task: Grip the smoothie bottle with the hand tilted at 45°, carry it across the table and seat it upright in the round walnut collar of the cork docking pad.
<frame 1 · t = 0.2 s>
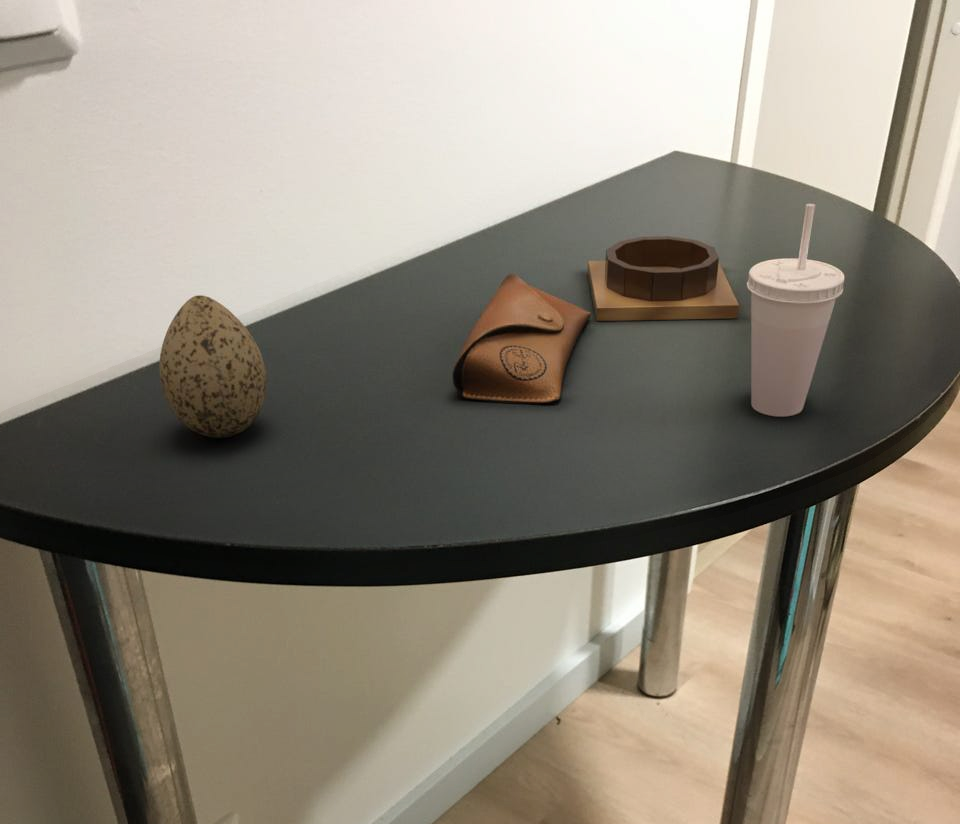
dock pad: (658, 294, 99), on the table
sunglasses case: (526, 357, 89), on the table
smoothie: (776, 407, 81), on the table
decorative egg: (224, 435, 79), on the table
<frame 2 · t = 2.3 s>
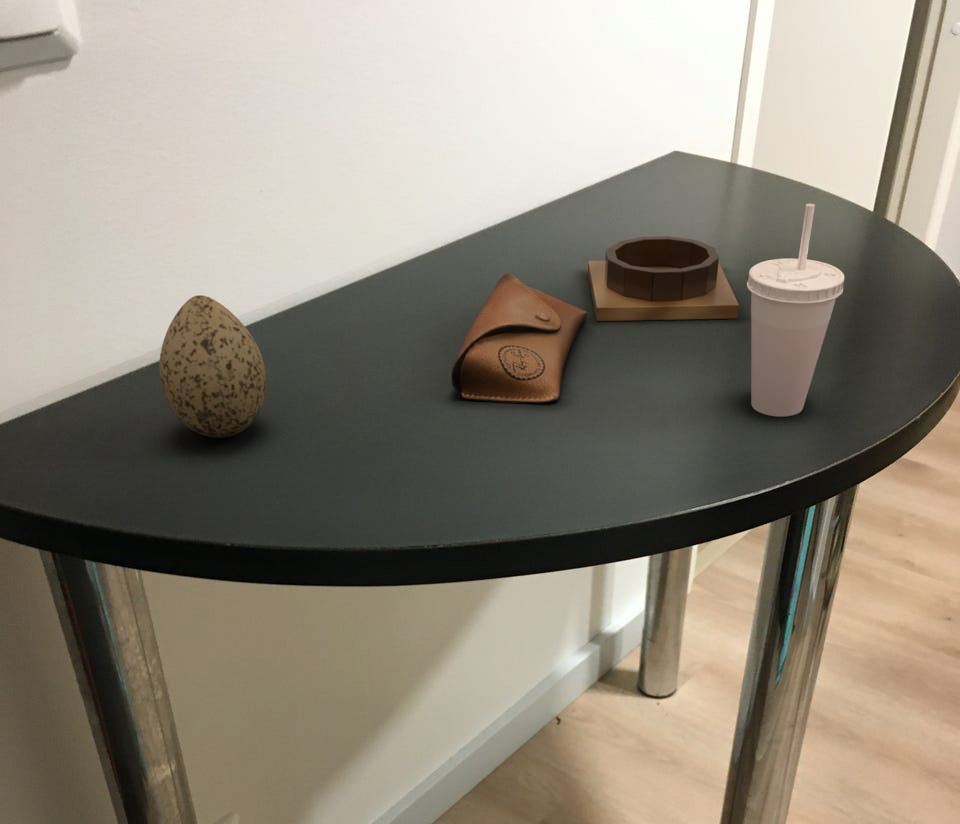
nothing on the table moved.
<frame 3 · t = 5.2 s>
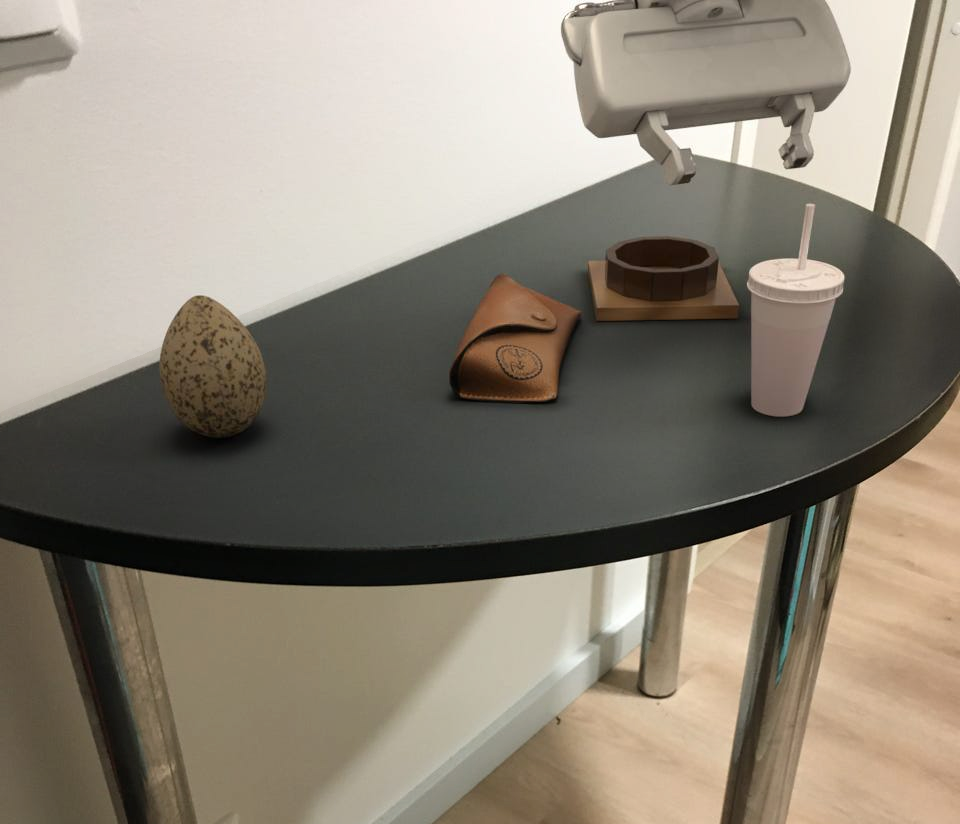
hand: (742, 171, 78), 14 cm above the table, tool tilted 45°, fingers open, 8 cm apart
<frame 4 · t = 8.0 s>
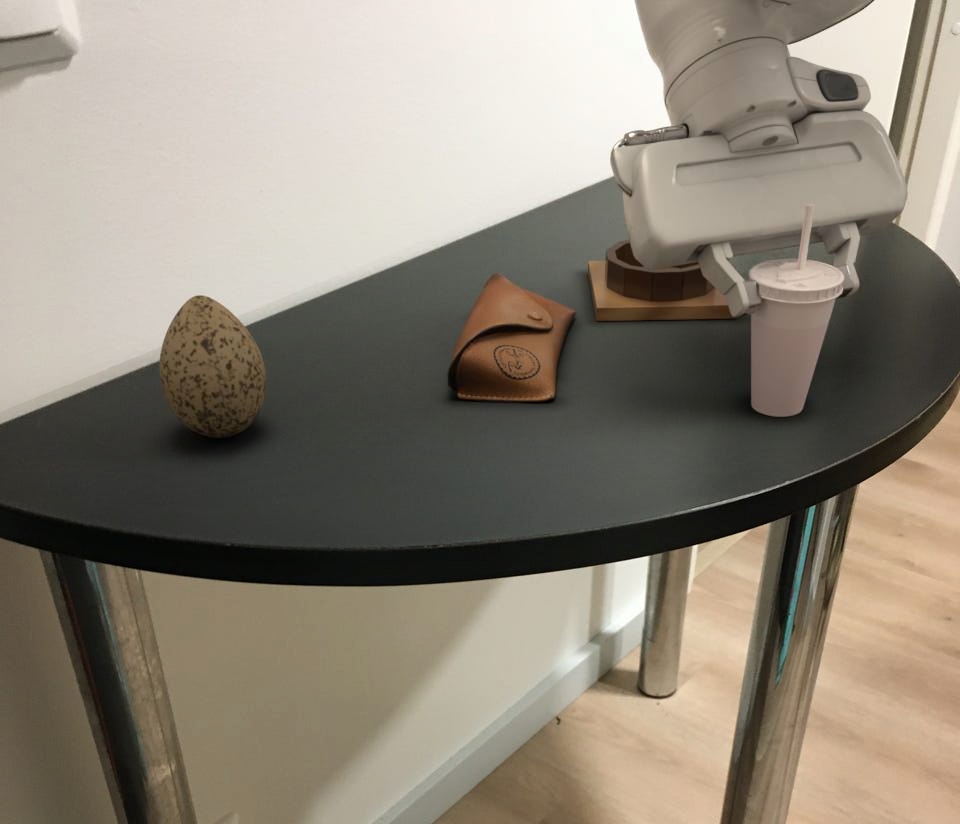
hand: (797, 303, 75), 8 cm above the table, tool tilted 45°, fingers closed on smoothie, 6 cm apart
smoothie: (776, 407, 81), on the table, touching gripper
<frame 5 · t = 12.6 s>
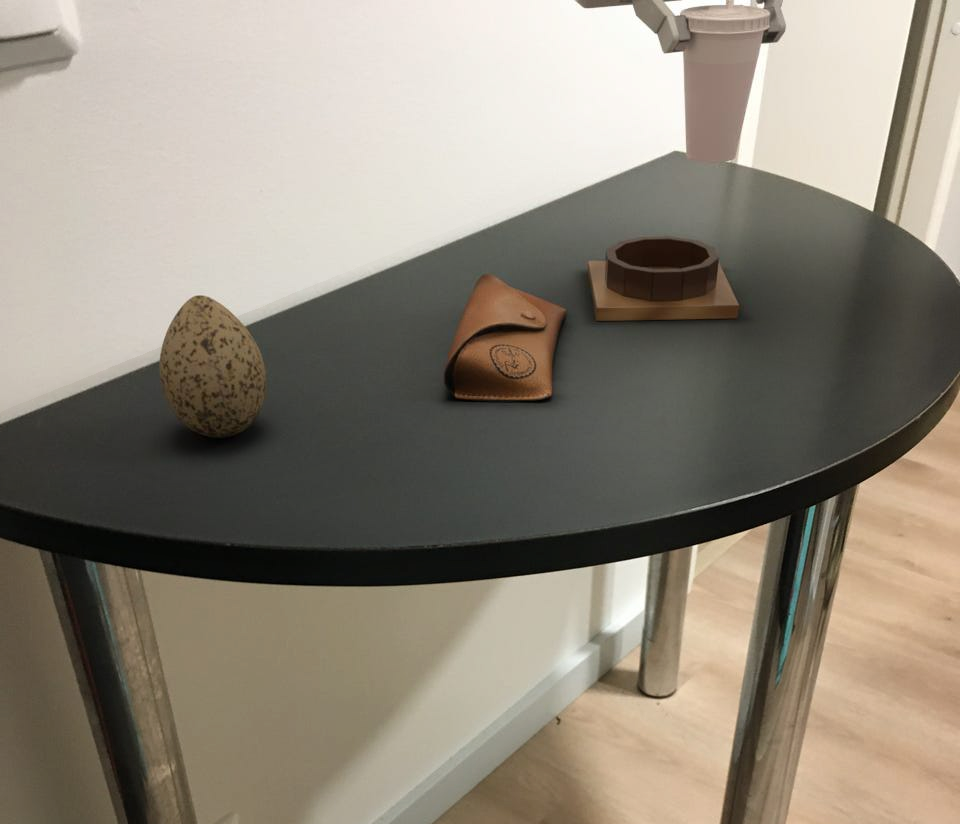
hand: (726, 42, 79), 21 cm above the table, tool tilted 45°, fingers closed on smoothie, 6 cm apart
smoothie: (710, 159, 84), point 13 cm above the table, touching gripper
when the fingers open (9 cm above the table, at t = 17.6 s): smoothie stays where it is, resting on dock pad.
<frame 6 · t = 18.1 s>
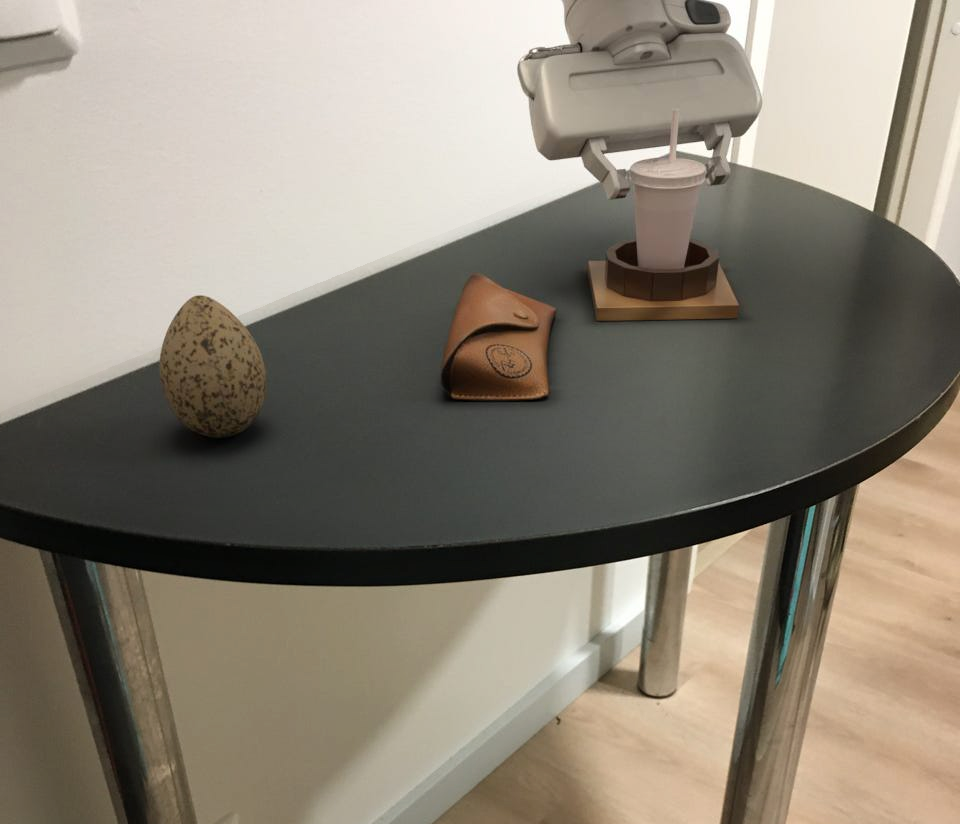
hand: (670, 188, 93), 9 cm above the table, tool tilted 45°, fingers open, 8 cm apart
smoothie: (659, 283, 99), point 1 cm above the table, touching dock pad
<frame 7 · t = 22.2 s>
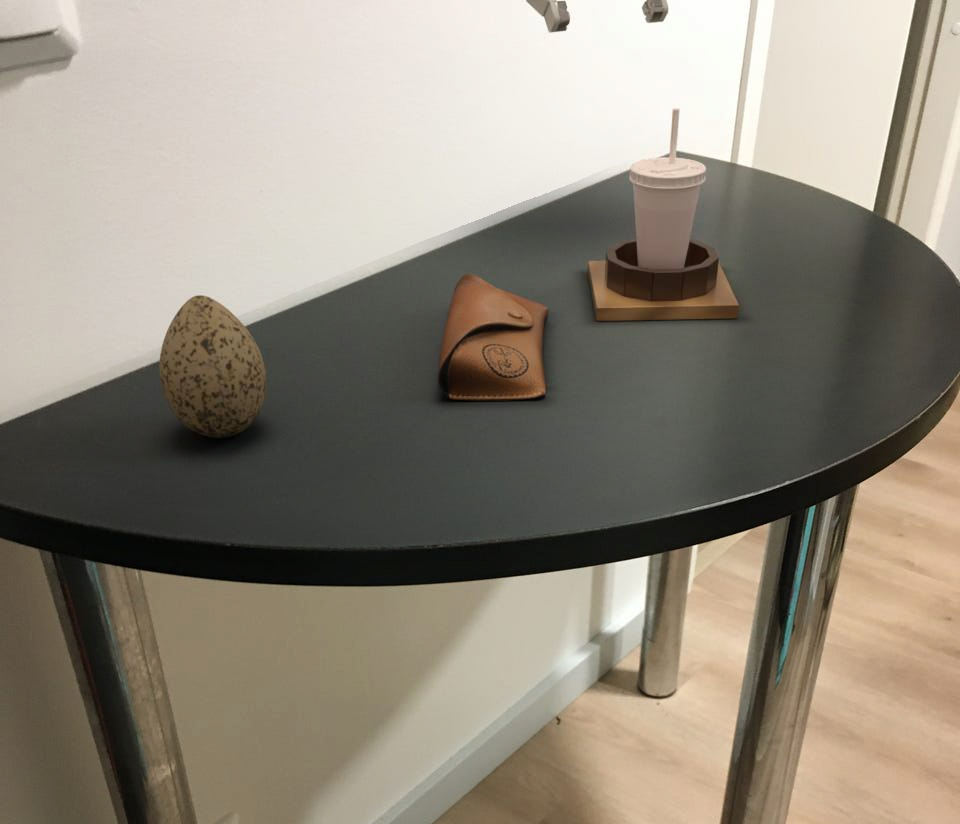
hand: (609, 22, 96), 20 cm above the table, tool tilted 45°, fingers open, 8 cm apart
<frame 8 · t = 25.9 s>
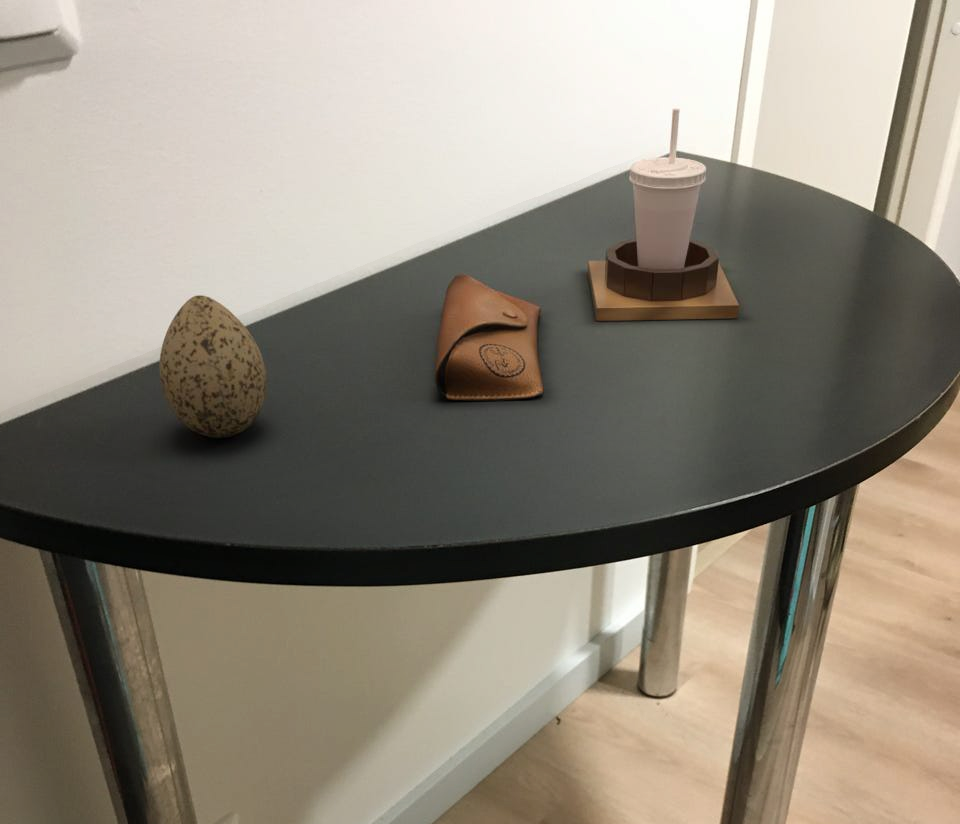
at the end: smoothie 0.1 cm off-centre on the dock pad, point 1.0 cm above the dock pad's base; smoothie tilted 0°; the gripper is holding nothing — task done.
